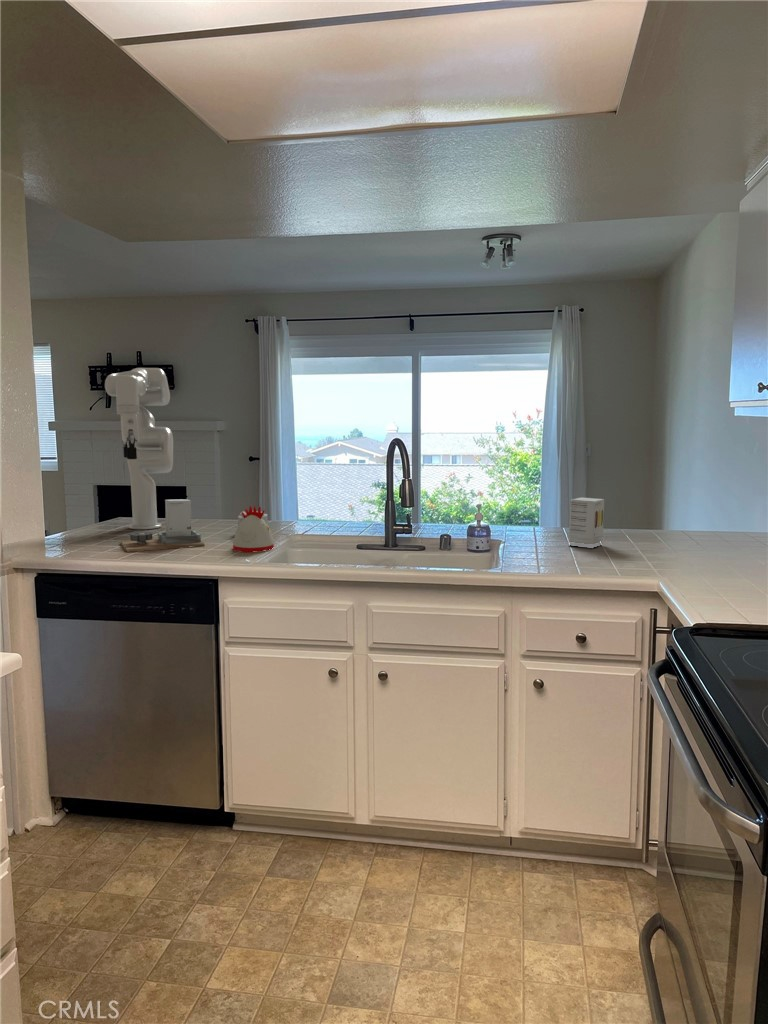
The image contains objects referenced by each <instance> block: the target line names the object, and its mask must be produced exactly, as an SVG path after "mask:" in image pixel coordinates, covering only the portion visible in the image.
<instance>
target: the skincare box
mask: <svg viewBox="0 0 768 1024" xmlns="http://www.w3.org/2000/svg"><path fill="white" fill-rule="evenodd" d="M191 501H192V500H190V499H186V498H185V499H182V498H180V499H164V502H165V503H164V504H165V506H164V507H165V532H166V537H172V536H185V535H191V530H192V502H191Z"/></svg>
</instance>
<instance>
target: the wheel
mask: <svg viewBox="0 0 768 1024" xmlns="http://www.w3.org/2000/svg"><path fill="white" fill-rule="evenodd" d="M139 533H145V534H141V535H139ZM152 538H153V532H149V531H137V532H131V533H129V540H131V541H146V540H152Z"/></svg>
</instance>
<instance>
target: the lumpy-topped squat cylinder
mask: <svg viewBox="0 0 768 1024" xmlns="http://www.w3.org/2000/svg"><path fill="white" fill-rule="evenodd" d="M256 511H257V512H258V510H256ZM242 512H243V513H244V514H245V515H246V511H241V512H240V513H239V515H238V516H237V527H238V526H239V524H240V523H241V522H242V520H243V519H244V517H243V515H242ZM262 512H263V511H261V513H262ZM268 517H269V516H268V514H267V513H264V514H263V516H262V519H263V520H264V521H265V522H266V524H267V525H268V526H269V519H268Z"/></svg>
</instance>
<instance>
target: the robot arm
mask: <svg viewBox="0 0 768 1024" xmlns="http://www.w3.org/2000/svg"><path fill="white" fill-rule="evenodd" d="M166 375H167V374H166V373H165V371H164V370H163V369H162V368H159V367H136V368H132V369H131V370H128V371H121V372H116V373H115V372H114V373H111V374H109V375H107V376H106V378H105V380H104V381H105V382H104V389H105V392H106V393H107V395H108V396H110V397H116V398H115V399H116V401H115V403H116V415H119V416H120V430H121V431H120V432H121V440H122V441H123V447H122V448H123V457H124V458H126V461H127V466H128V471H129V478H130V479H129V480H130V492H131V493H130V494H131V510H132V511H131V512H132V516H131V517H132V523H130V524H129V525H128V528H129V529H132V530H152V529H153V530H154V529H158V528H161V527H162V523H161V522H158V511H157V507H158V506H157V505H158V504H157V487H156V482H155V481H154V479H153V478H152V476H150V474H168V473H170V472H171V471H172V470H173V467H174V437H173V436H174V434H173V432H172V430H171V428H169V427H166V426H155V425H156V424H155V423H156V422H155V421H156V420H155V417H154V415H153V414H152V413H151V412H150V411H149V410H148V409H147V408H146V406H147V407H163V406H164V407H165V406H167V405H169V404H170V400H171V392H170V387H169V383H168V377H167V376H166Z"/></svg>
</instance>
